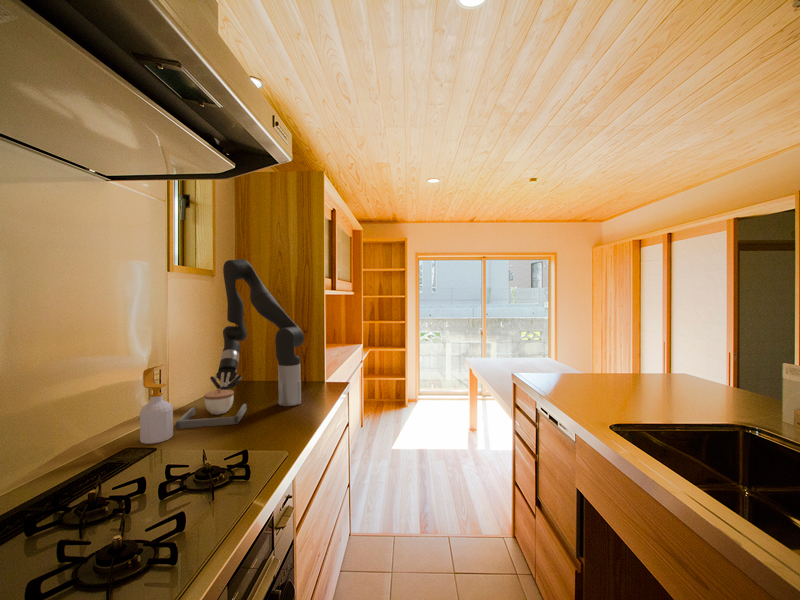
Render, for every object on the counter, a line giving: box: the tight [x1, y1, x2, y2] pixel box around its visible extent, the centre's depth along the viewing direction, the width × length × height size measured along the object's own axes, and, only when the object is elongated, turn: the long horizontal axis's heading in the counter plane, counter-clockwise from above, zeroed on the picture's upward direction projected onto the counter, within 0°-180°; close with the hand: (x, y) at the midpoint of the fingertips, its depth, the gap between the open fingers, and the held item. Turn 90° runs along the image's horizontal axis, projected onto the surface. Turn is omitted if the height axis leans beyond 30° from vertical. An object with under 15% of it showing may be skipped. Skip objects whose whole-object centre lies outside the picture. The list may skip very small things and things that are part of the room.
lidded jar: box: [203, 389, 235, 415], centre depth 146 cm, size 11×11×9 cm
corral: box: [175, 403, 247, 430], centre depth 139 cm, size 20×17×2 cm
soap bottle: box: [139, 363, 174, 445], centre depth 119 cm, size 9×9×25 cm
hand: (222, 396), depth 152 cm, fingers closed
